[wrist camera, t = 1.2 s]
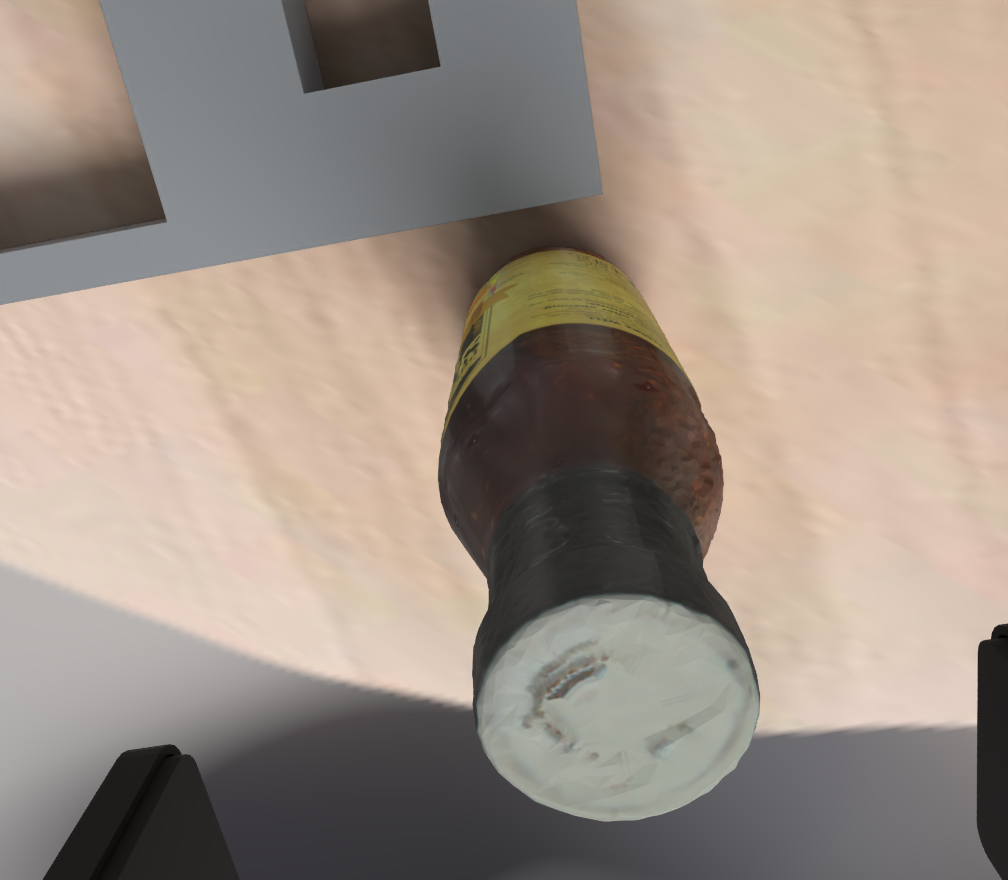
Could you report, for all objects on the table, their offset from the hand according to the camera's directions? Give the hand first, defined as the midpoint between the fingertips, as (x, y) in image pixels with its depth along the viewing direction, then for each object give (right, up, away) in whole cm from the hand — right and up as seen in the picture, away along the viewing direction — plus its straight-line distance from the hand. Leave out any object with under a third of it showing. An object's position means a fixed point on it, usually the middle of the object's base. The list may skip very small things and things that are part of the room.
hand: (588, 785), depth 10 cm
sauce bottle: (+1, +8, +20) cm, 22 cm away
